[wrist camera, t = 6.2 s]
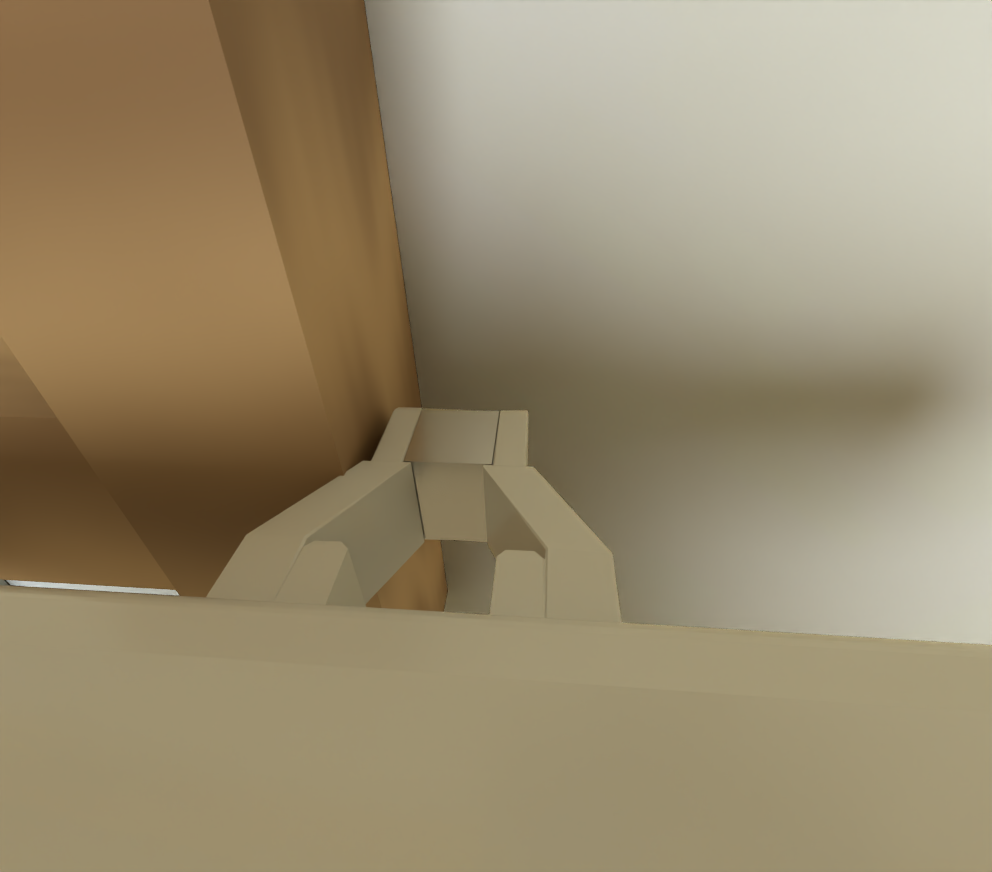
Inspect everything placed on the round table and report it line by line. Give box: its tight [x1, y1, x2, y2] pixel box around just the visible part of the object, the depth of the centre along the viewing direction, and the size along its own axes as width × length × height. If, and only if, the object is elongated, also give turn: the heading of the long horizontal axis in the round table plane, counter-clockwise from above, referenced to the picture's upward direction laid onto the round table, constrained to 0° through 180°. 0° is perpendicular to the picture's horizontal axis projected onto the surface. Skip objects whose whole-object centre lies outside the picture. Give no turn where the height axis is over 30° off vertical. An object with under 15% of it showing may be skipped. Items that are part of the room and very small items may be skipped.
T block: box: [0, 0, 448, 612], centre depth 10 cm, size 16×14×4 cm
